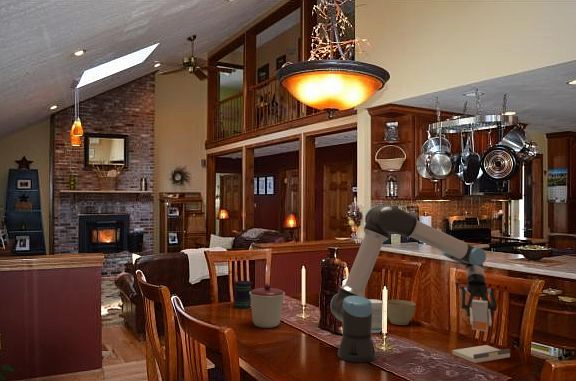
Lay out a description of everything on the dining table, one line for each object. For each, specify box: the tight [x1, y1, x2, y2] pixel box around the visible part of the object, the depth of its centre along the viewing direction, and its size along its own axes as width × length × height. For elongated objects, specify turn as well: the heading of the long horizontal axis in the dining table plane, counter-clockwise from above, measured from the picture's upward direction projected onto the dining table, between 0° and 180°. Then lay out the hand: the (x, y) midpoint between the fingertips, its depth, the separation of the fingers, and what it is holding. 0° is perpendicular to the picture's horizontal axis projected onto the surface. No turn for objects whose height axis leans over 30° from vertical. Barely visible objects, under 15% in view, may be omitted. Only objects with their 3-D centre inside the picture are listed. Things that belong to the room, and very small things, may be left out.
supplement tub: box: [369, 299, 383, 334], centre depth 231 cm, size 10×10×15 cm
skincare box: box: [471, 299, 488, 332], centre depth 197 cm, size 6×4×12 cm
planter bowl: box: [386, 299, 417, 326], centre depth 247 cm, size 16×16×11 cm
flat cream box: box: [451, 344, 511, 364], centre depth 196 cm, size 20×12×3 cm, turn 116°
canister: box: [249, 282, 286, 329], centre depth 236 cm, size 18×18×21 cm
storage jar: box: [233, 280, 252, 310], centre depth 276 cm, size 10×10×15 cm
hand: (481, 323), depth 194 cm, fingers closed on skincare box, 6 cm apart
